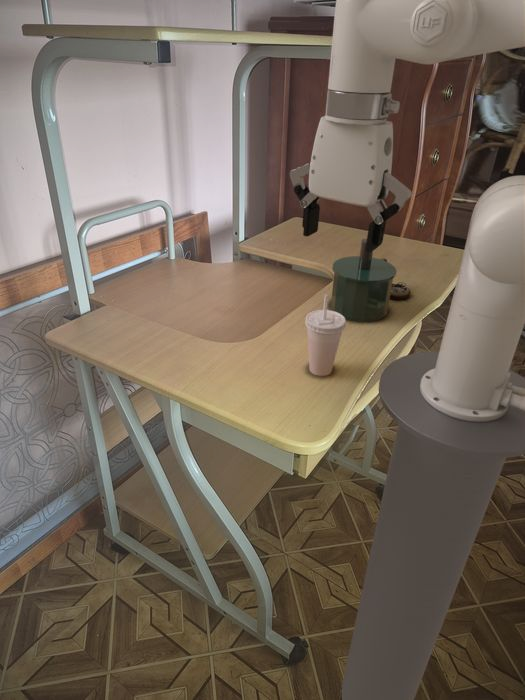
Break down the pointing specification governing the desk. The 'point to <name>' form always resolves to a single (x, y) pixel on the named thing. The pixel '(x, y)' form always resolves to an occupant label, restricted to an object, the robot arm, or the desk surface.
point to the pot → (360, 299)
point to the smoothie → (323, 338)
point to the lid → (364, 267)
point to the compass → (399, 290)
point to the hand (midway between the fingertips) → (340, 241)
